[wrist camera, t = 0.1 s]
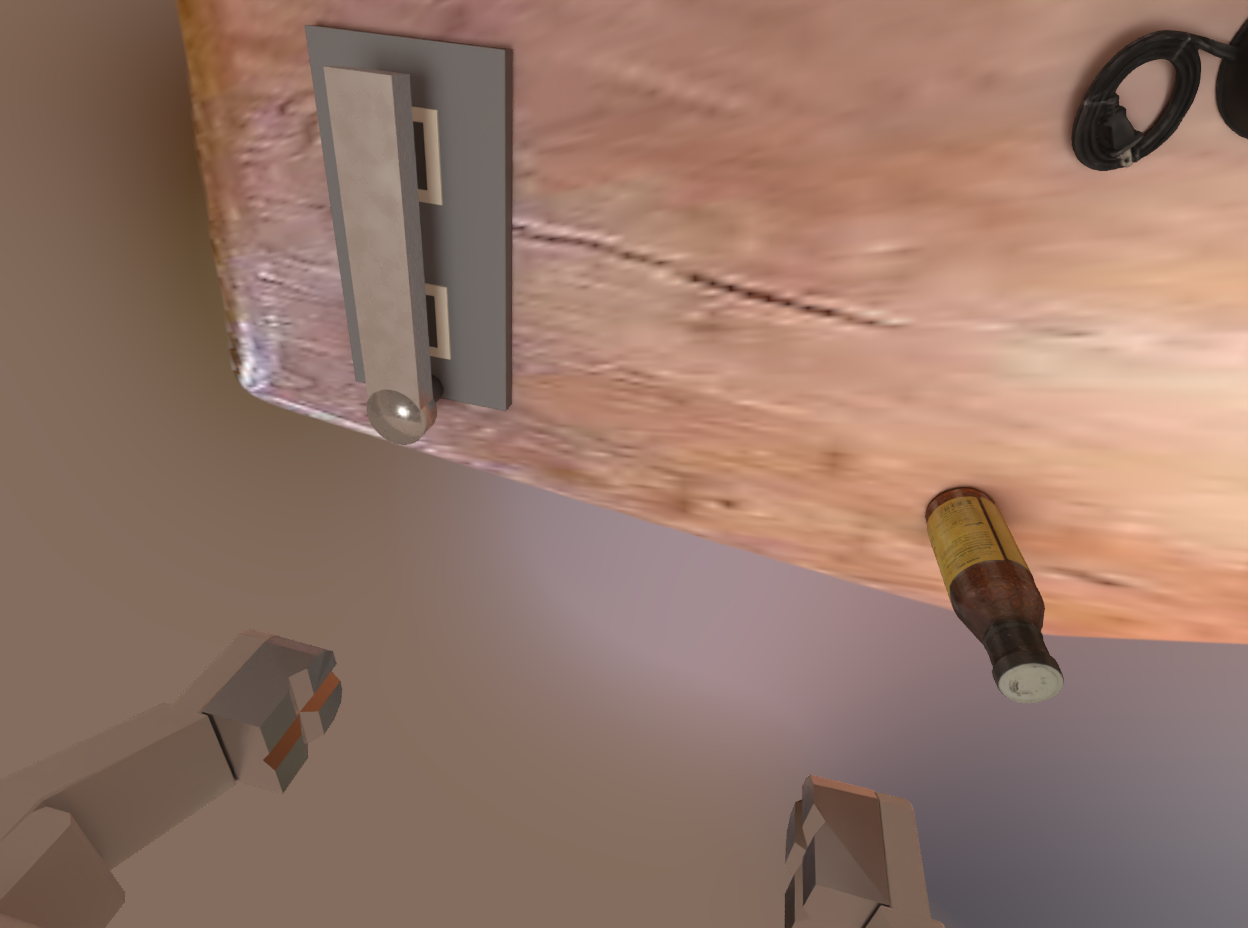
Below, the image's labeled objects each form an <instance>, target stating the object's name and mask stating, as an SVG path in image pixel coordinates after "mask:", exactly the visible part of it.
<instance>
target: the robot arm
mask: <svg viewBox="0 0 1248 928" xmlns="http://www.w3.org/2000/svg"><path fill="white" fill-rule="evenodd" d="M335 665H336V660H335V656H334V653H333V651H331V650H327V649H323V648H320V647H316V646H312V645H309V644H304V643H301V642H297V641H294V640H290V639H286V638H283V637H280V636H277V635H273V634H269V633H265V632H261V631H257V630H253V629H248V630H246V631H244V632H243V633H241V634H239V635H238V636H237V637H236V638H235V639H234V640H233V641H232V642H231V643H230V644H229V645H228V646H227V647H226V648H225V649H224V650H223V651H222V652H221V653H220V654H219V655H218V656H217V657H216V658H215V660H214V661H213V662H212V663H211V664H210V665H209V666H208V667H207V668H206V669H205V670H204V671H203V672H202V673H201V674H200V675H199V676H198V677H197V678H196V679H195V680H194V681H193V682H192V683H191V684H190V685H189V687H188V688H187V689H186V690H185V691H184V692H183V693H182V694H181V695H180V696H179V697H178V698H177V699H176V700H175V701H174V702H173V703H172V704H167V703H161V704H159V705H157V706H155V707H153V708H151V709H149V710H146V711H144V712H142V713H140V714H138V715H136V716H134V717H131V718H129V719H127V720H125V721H123V722H121V723H119V724H116V725H114V726H112V727H110V728H108V729H106V730H104V731H101V732H99V733H97V734H95V735H93V736H91V737H89V738H87V739H84V740H82V741H80V742H78V743H76V744H74V745H72V746H69V747H67V748H65V749H63V750H61V751H59V752H57V753H55V754H52V755H50V756H48V757H46V758H44V759H42V760H40V761H37V762H36V763H33V764H31V765H29V766H27V767H25V768H22V769H20V770H18V771H16V772H14V773H12V774H10V775H8V776H5V777H4V778H1V779H0V928H105V927H106V926H107V925H108V924H109V922H110V921H111V920H112V918H113V917H114V916H115V914H116V913H117V912H118V911H119V909H120V908H121V907H122V905H123V904H124V903H125V891H124V890H123V888H122V887H121V885H120V884H119V882H118V881H117V880H116V878H115V877H114V875H113V874H112V873H111V871H110V870H111V869H113V868H114V867H116V866H117V865H119V864H120V863H122V862H123V861H125V860H126V859H127V858H129V857H130V856H132V855H134V854H135V853H137V852H138V851H139V850H141V849H142V848H144V847H145V846H147V845H148V844H150V843H151V842H153V841H154V840H155V839H157V838H158V837H160V836H162V835H163V834H164V833H166V832H167V831H169V830H170V829H172V828H173V827H175V826H176V825H178V824H179V823H181V822H182V821H184V820H185V819H187V818H188V817H189V816H191V815H192V814H194V813H195V812H197V811H198V810H200V809H201V808H203V807H204V806H206V805H207V804H209V803H210V802H212V801H213V800H215V799H216V798H217V797H219V796H220V795H222V794H223V793H225V792H226V791H228V790H229V789H231V788H232V787H234V786H235V785H236V782H240V783H244V784H247V785H251V786H255V787H259V788H263V789H267V790H271V791H275V792H278V793H282V794H283V793H284V791H285V790H286V789H287V787H288V786H289V784H290V783H291V781H292V780H293V779H294V777H295V776H296V774H297V773H298V771H299V770H300V769H301V767H302V766H303V764H304V763H305V761H306V760H307V759H308V743H310V742H312V741H313V740H315V739H317V738H319V737H321V736H322V735H324V734H325V732H326V731H327V729H328V728H329V726H330V725H331V723H332V722H333V720H334V718H335V716H336V714H337V711H338V708H339V706H340V703H341V697H342V687H341V682H340V680H339V679H338V678H337V677H336V676H335V674H334V673H333V672H332V669H333V668H334V667H335ZM235 781H236V782H235ZM786 837H787V838H786V855H785V864H786V866H787V867H788V869H789V871H790V873H791V875H792V876H793V878H792V880H791V882H790V884H789V886H788V888H787V890H786V893H785V928H945V927H944V925H943V924H942V922H938V921H936V920H933V919H931V915H930V909H929V903H928V897H927V890H926V884H925V878H924V871H923V865H922V859H921V852H920V846H919V840H918V834H917V827H916V821H915V815H914V809H913V807H912V805H911V804H910V802H909V801H908V800H906V799H903V798H900V797H895V796H891V795H887V794H883V793H879V792H875V791H873V790H871V789H867V788H863V787H859V786H854V785H850V784H846V783H842V782H838V781H834V780H830V779H826V778H821V777H817V776H813V775H810V776H808V777H806V779H805V782H804V784H803V786H802V800H799V801H797V802H795V804H794V807H793V809H792V812H791V814H790V819H789V824H788V829H787V836H786Z"/></svg>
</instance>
